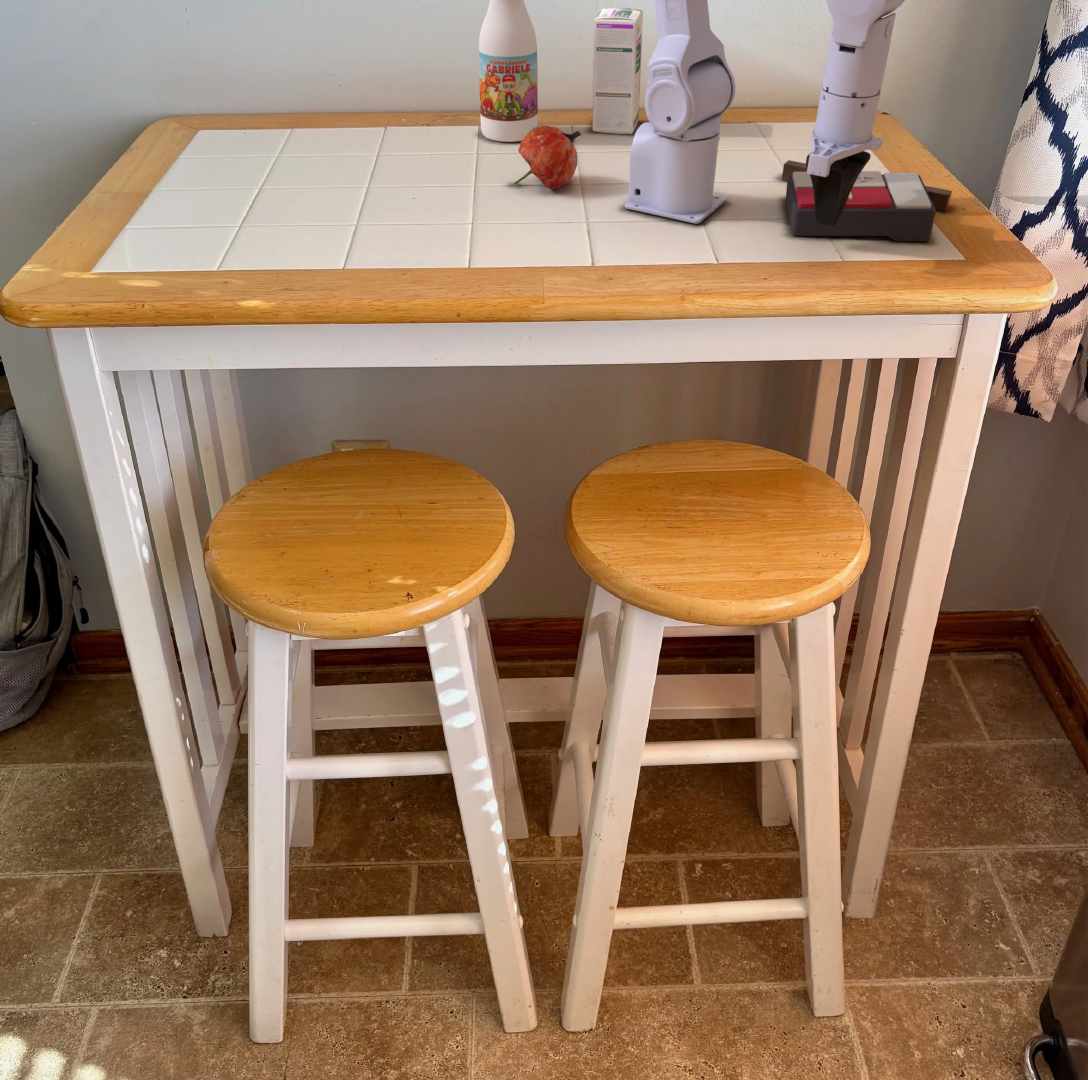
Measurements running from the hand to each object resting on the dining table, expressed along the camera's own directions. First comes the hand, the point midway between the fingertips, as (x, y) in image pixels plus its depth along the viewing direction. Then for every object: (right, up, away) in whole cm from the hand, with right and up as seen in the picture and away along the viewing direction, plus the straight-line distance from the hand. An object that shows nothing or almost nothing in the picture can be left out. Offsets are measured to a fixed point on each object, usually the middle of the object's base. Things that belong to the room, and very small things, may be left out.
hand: (826, 222), depth 112 cm
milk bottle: (-35, +21, +31) cm, 51 cm away
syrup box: (-20, +23, +33) cm, 45 cm away
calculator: (+5, +2, +8) cm, 10 cm away
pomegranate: (-30, +9, +16) cm, 35 cm away
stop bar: (+8, +8, +14) cm, 18 cm away
